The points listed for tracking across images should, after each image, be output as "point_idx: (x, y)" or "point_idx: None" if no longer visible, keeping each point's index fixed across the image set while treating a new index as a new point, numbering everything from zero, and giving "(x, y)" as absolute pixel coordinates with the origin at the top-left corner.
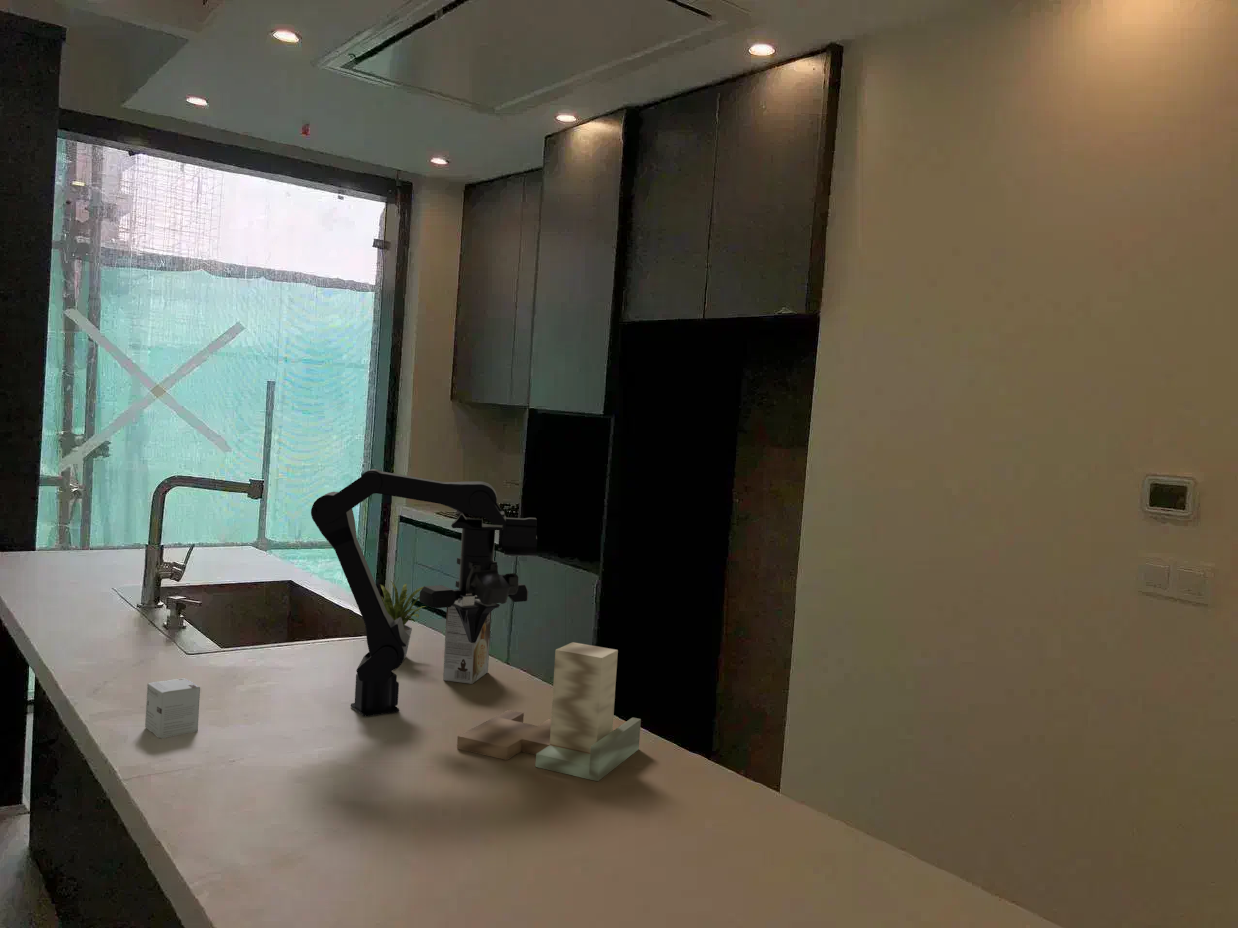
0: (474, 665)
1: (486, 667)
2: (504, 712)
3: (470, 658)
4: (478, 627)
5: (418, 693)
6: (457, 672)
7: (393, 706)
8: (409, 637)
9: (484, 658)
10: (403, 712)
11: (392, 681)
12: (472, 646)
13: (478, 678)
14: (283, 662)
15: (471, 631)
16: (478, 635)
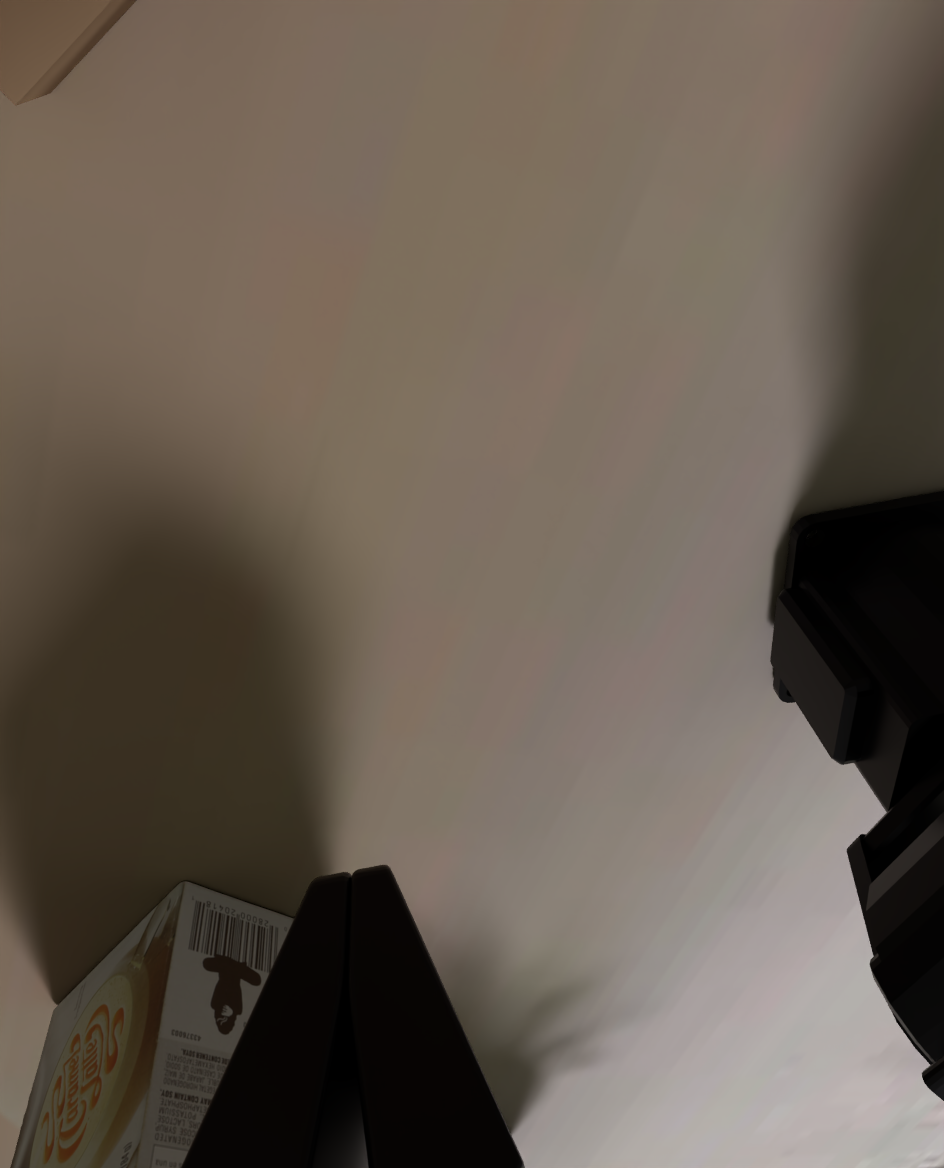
0: (154, 987)
1: (59, 1026)
2: (76, 15)
3: (178, 1032)
4: (276, 1153)
5: (534, 785)
6: (262, 956)
7: (814, 572)
8: (935, 1067)
9: (64, 1071)
10: (764, 515)
11: (925, 678)
12: (154, 1122)
13: (130, 933)
14: (863, 1099)
15: (442, 1040)
16: (269, 982)
